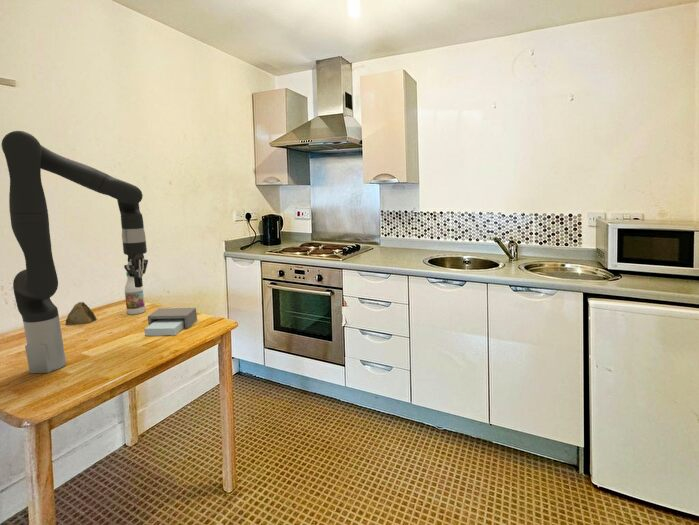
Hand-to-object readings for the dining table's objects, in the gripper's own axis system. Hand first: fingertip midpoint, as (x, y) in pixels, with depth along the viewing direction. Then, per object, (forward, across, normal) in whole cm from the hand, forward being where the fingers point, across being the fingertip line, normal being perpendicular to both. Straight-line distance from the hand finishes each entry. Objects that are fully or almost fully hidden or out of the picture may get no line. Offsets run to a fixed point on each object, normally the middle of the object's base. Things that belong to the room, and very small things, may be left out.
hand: (139, 286), depth 146 cm
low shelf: (+22, +21, -2) cm, 30 cm away
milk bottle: (+22, +39, +23) cm, 51 cm away
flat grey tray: (+22, +16, -2) cm, 27 cm away
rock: (+23, +26, +41) cm, 53 cm away
